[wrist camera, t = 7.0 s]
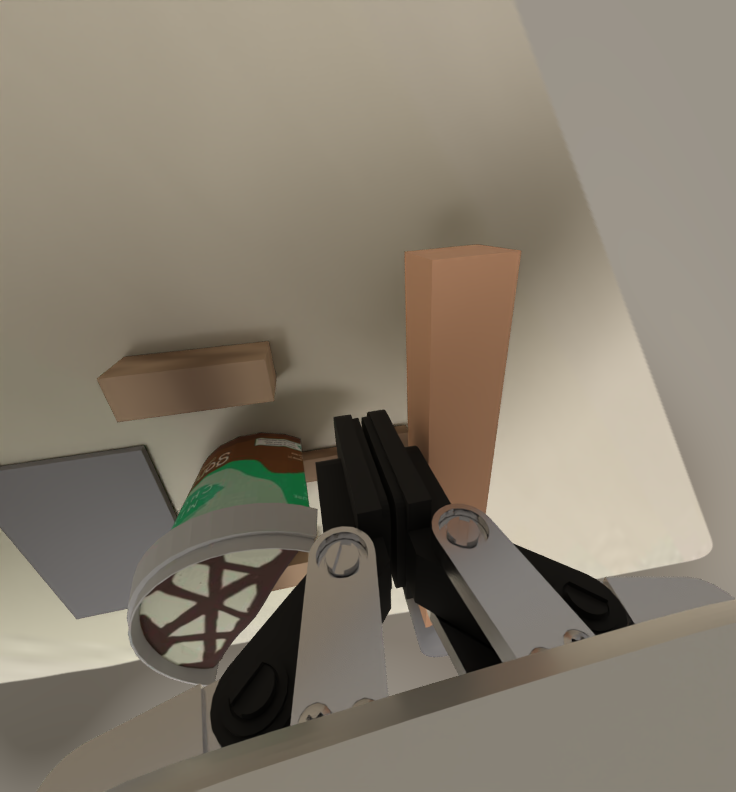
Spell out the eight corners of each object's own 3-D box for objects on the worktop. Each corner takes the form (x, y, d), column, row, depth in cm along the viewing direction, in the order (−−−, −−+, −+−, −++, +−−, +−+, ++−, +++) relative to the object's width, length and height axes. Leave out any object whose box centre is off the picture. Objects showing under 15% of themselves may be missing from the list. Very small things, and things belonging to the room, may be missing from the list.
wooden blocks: (214, 569, 28) (176, 738, 19) (123, 356, 19) (-35, 486, 10) (405, 530, 30) (452, 665, 21) (405, 326, 21) (489, 407, 12)
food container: (222, 385, 21) (170, 505, 12) (310, 422, 23) (320, 544, 15) (154, 520, 25) (78, 685, 16) (236, 539, 27) (209, 692, 18)
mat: (80, 612, 27) (76, 619, 27) (-35, 471, 20) (-42, 477, 20) (208, 586, 29) (207, 591, 28) (144, 445, 22) (140, 450, 21)
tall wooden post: (391, 251, 9) (421, 262, 7) (483, 242, 9) (539, 249, 7) (404, 607, 17) (420, 662, 15) (453, 594, 17) (476, 647, 15)
